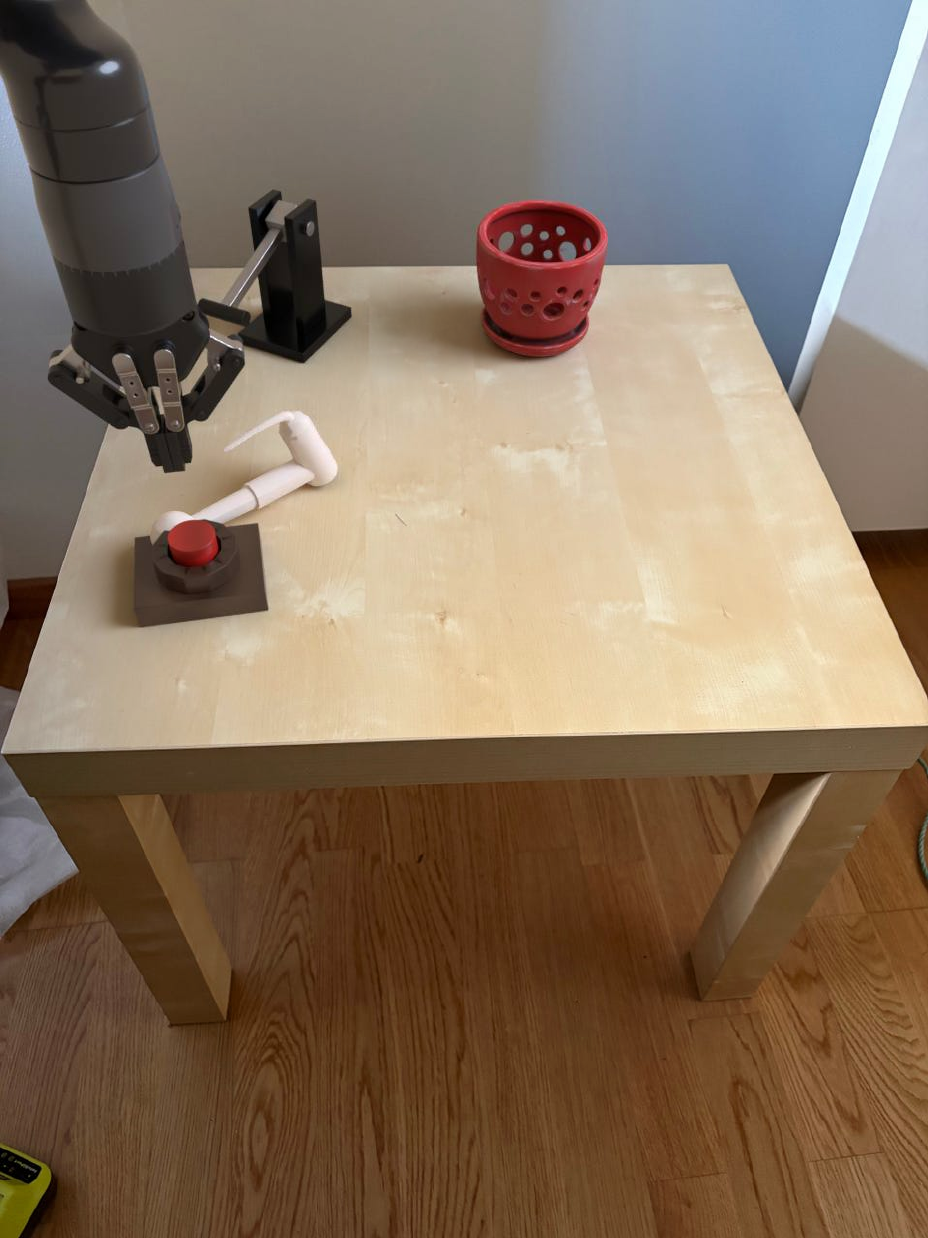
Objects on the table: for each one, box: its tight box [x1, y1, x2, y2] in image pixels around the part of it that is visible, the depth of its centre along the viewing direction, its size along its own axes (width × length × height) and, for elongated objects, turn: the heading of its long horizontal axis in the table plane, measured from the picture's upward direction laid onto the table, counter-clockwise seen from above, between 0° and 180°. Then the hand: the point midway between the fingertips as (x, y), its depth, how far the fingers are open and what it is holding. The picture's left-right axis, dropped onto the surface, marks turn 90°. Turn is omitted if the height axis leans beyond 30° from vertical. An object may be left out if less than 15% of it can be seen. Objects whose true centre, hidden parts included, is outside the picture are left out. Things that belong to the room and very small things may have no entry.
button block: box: [132, 519, 269, 628], centre depth 77 cm, size 10×8×4 cm
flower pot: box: [475, 199, 609, 357], centre depth 100 cm, size 13×13×12 cm
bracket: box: [237, 188, 353, 364], centre depth 98 cm, size 10×8×14 cm
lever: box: [197, 200, 299, 328], centre depth 93 cm, size 14×5×2 cm, turn 155°
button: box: [168, 520, 218, 567], centre depth 75 cm, size 4×4×2 cm
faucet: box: [149, 410, 339, 545], centre depth 81 cm, size 4×18×10 cm, turn 134°
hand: (175, 464), depth 69 cm, fingers closed
